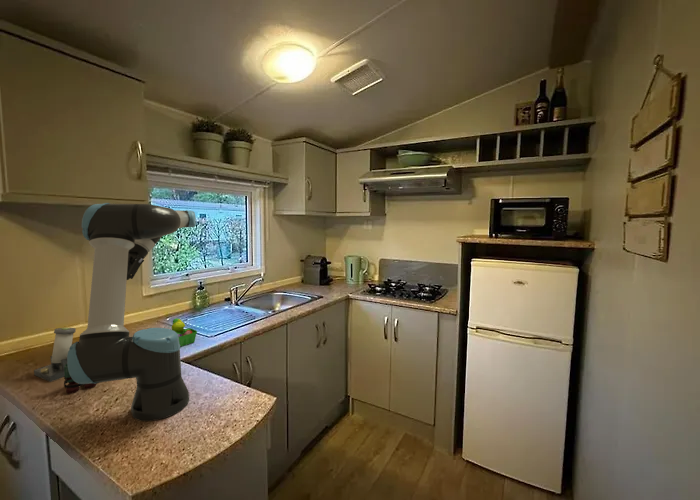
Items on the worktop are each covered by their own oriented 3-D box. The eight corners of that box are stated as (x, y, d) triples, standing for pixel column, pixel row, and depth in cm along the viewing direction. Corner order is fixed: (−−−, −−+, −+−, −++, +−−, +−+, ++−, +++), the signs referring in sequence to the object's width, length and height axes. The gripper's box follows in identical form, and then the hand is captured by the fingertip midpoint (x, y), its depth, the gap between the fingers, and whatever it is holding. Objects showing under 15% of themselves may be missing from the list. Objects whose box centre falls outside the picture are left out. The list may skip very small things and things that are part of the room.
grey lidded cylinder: (54, 364, 116) (59, 330, 117) (45, 361, 119) (51, 328, 120) (74, 361, 122) (79, 328, 123) (65, 358, 124) (70, 326, 125)
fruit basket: (172, 350, 140) (171, 324, 138) (163, 345, 145) (161, 320, 144) (198, 342, 149) (197, 318, 147) (188, 337, 154) (187, 314, 153)
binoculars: (62, 370, 102) (61, 356, 109) (65, 400, 104) (64, 385, 111) (98, 361, 108) (95, 349, 115) (100, 390, 110) (97, 376, 117)
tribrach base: (49, 382, 113) (48, 366, 113) (34, 375, 118) (32, 360, 117) (86, 368, 123) (85, 354, 123) (70, 362, 128) (69, 349, 127)
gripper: (163, 254, 143) (129, 298, 131) (131, 251, 152) (96, 292, 140) (150, 243, 138) (113, 288, 125) (118, 241, 147) (80, 282, 135)
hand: (104, 290), depth 133 cm, fingers open, 10 cm apart
